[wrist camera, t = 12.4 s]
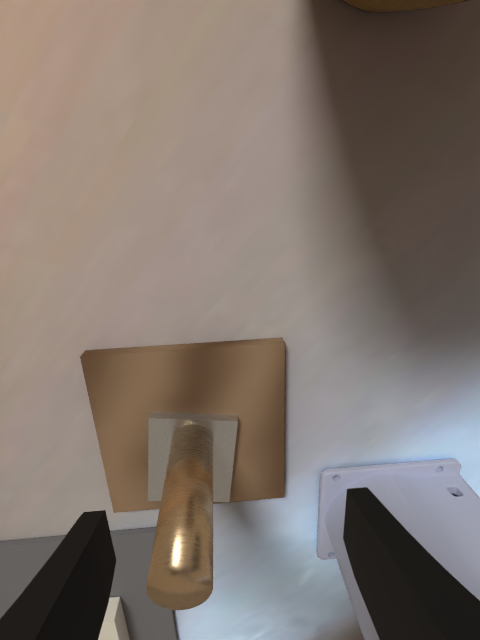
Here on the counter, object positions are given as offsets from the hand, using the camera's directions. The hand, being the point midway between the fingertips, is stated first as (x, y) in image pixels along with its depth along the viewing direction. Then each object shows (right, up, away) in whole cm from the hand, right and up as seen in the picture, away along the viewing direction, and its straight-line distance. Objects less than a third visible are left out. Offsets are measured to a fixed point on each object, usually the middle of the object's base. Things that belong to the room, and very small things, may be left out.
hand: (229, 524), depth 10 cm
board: (-3, 0, +11) cm, 11 cm away
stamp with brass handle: (-3, -2, +11) cm, 11 cm away
